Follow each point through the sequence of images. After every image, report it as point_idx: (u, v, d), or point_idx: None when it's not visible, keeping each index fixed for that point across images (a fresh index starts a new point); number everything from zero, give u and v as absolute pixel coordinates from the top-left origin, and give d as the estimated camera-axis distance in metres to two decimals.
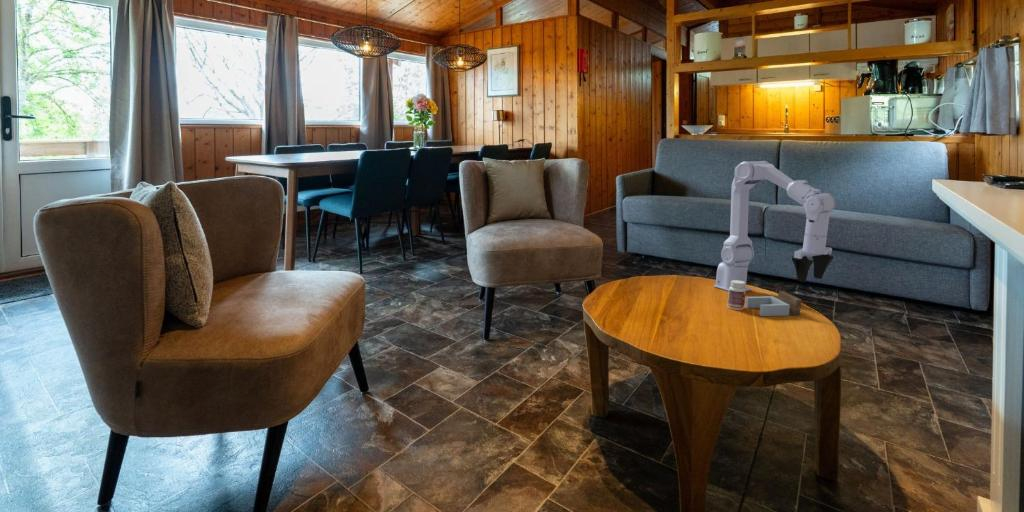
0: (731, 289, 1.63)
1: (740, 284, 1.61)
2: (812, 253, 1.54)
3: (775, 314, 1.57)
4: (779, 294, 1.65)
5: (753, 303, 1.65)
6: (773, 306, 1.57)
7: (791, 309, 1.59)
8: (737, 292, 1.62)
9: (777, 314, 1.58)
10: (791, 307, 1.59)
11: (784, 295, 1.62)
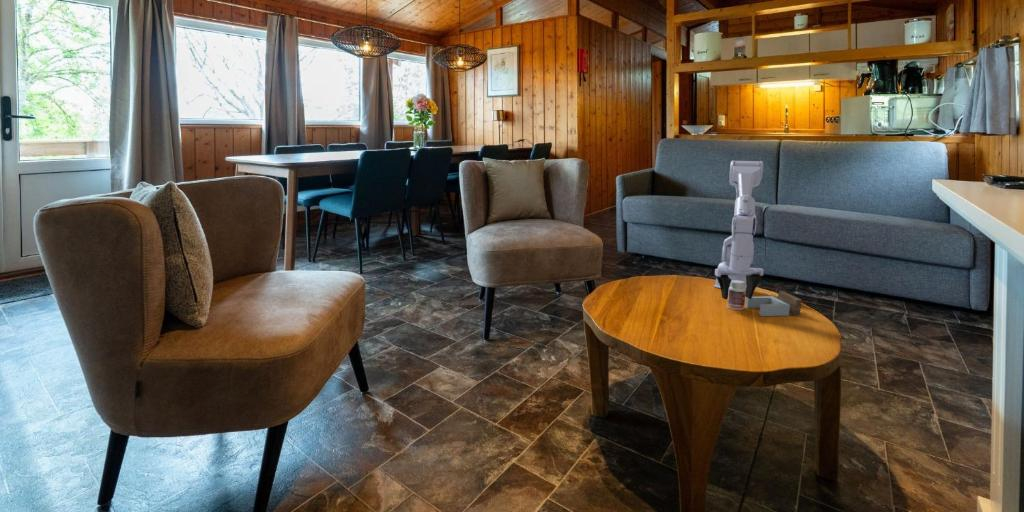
0: (731, 289, 1.63)
1: (740, 284, 1.61)
2: (731, 272, 1.60)
3: (775, 314, 1.57)
4: (779, 294, 1.65)
5: (753, 303, 1.65)
6: (773, 306, 1.57)
7: (791, 309, 1.59)
8: (737, 292, 1.62)
9: (777, 314, 1.58)
10: (791, 307, 1.59)
11: (784, 295, 1.62)
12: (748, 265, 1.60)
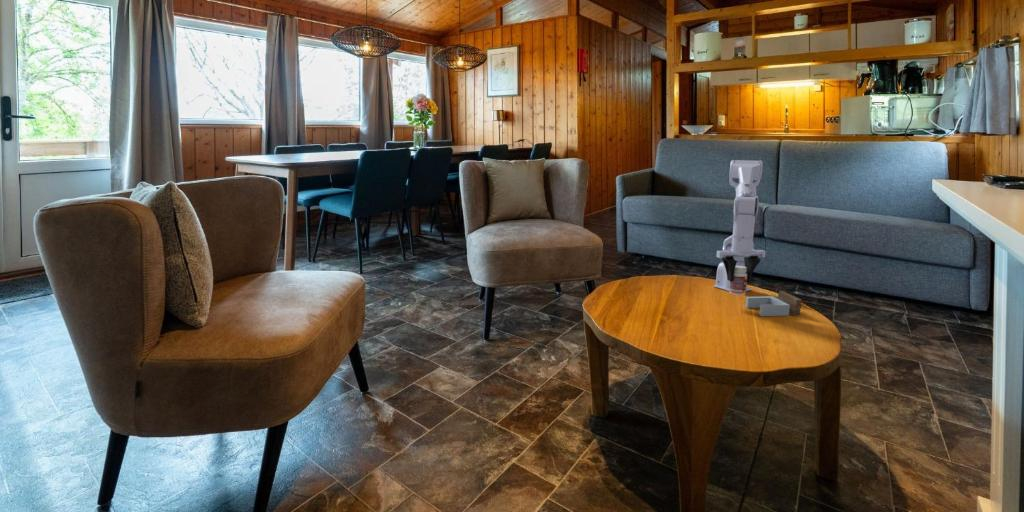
0: None
1: (741, 269, 1.61)
2: (733, 254, 1.59)
3: (775, 314, 1.57)
4: (779, 294, 1.65)
5: (753, 303, 1.65)
6: (773, 306, 1.57)
7: (791, 309, 1.59)
8: (738, 277, 1.61)
9: (777, 314, 1.58)
10: (791, 307, 1.59)
11: (784, 295, 1.62)
12: (750, 247, 1.59)
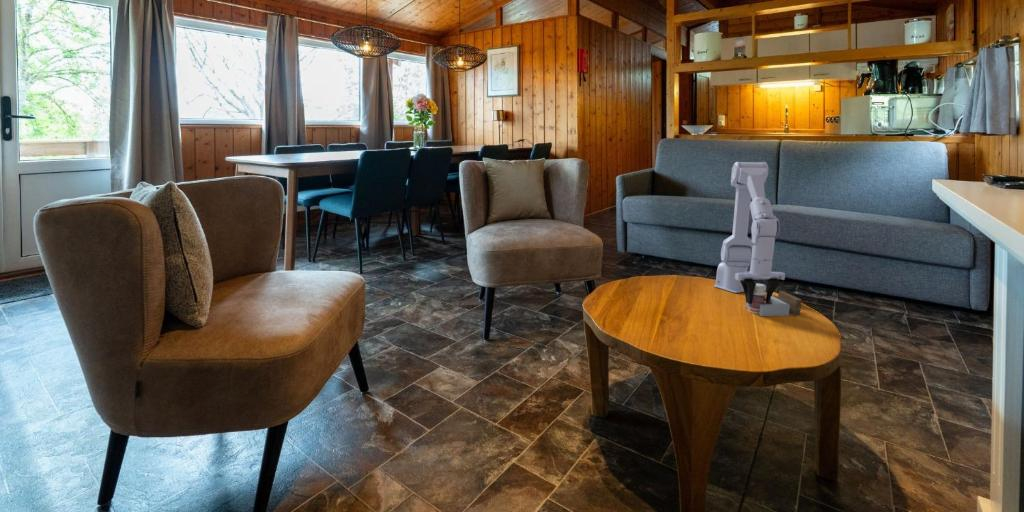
0: None
1: (761, 287, 1.58)
2: (752, 276, 1.57)
3: (775, 314, 1.57)
4: (779, 294, 1.65)
5: None
6: (773, 306, 1.57)
7: (791, 309, 1.59)
8: (758, 295, 1.58)
9: (777, 314, 1.58)
10: (791, 307, 1.59)
11: (784, 295, 1.62)
12: (769, 269, 1.56)
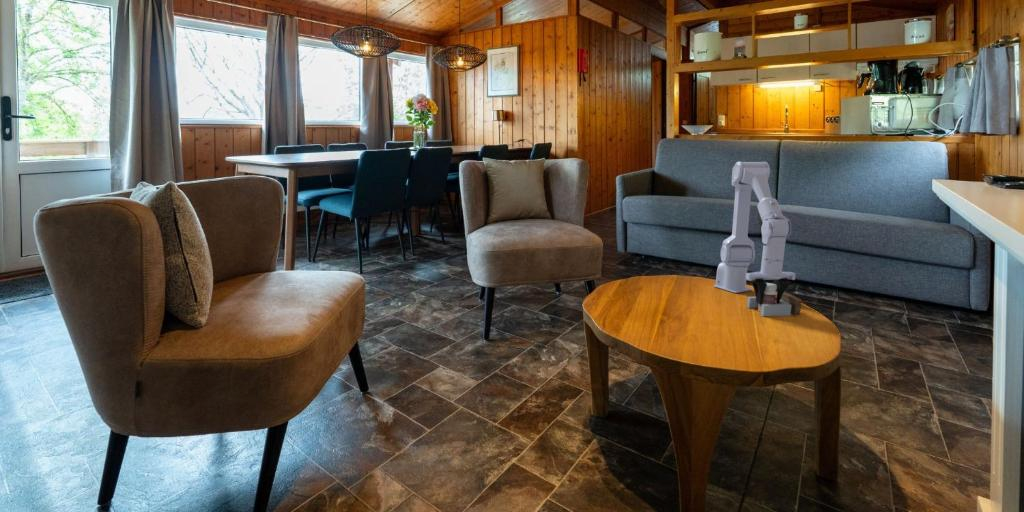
0: None
1: (772, 287, 1.58)
2: (763, 276, 1.57)
3: (777, 314, 1.58)
4: None
5: (754, 303, 1.65)
6: (775, 306, 1.57)
7: (791, 309, 1.59)
8: (768, 295, 1.59)
9: (779, 314, 1.58)
10: (791, 307, 1.59)
11: (784, 295, 1.62)
12: (780, 269, 1.57)
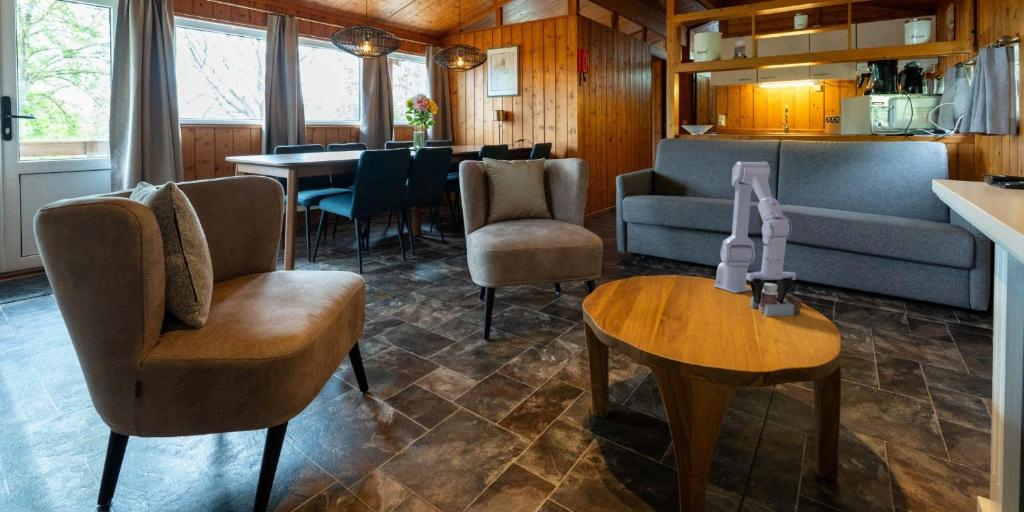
0: (763, 292, 1.60)
1: (773, 287, 1.58)
2: (764, 276, 1.57)
3: (780, 314, 1.58)
4: None
5: None
6: (778, 306, 1.57)
7: None
8: (769, 295, 1.59)
9: (782, 314, 1.58)
10: None
11: None
12: (781, 269, 1.57)
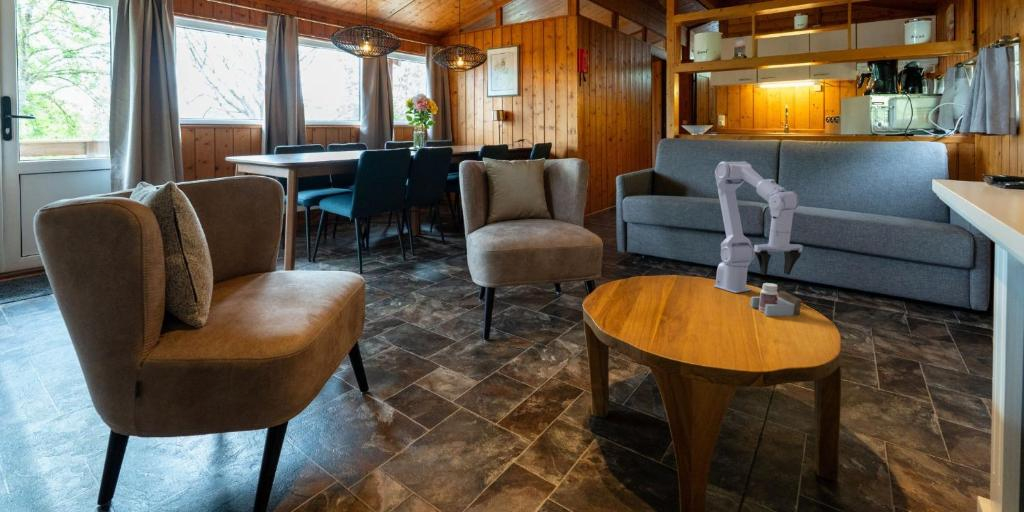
0: (763, 292, 1.60)
1: (773, 287, 1.58)
2: (771, 248, 1.63)
3: (780, 314, 1.58)
4: (779, 294, 1.65)
5: (757, 303, 1.65)
6: (778, 306, 1.57)
7: None
8: (769, 295, 1.59)
9: (782, 314, 1.58)
10: None
11: (784, 295, 1.62)
12: (788, 241, 1.62)
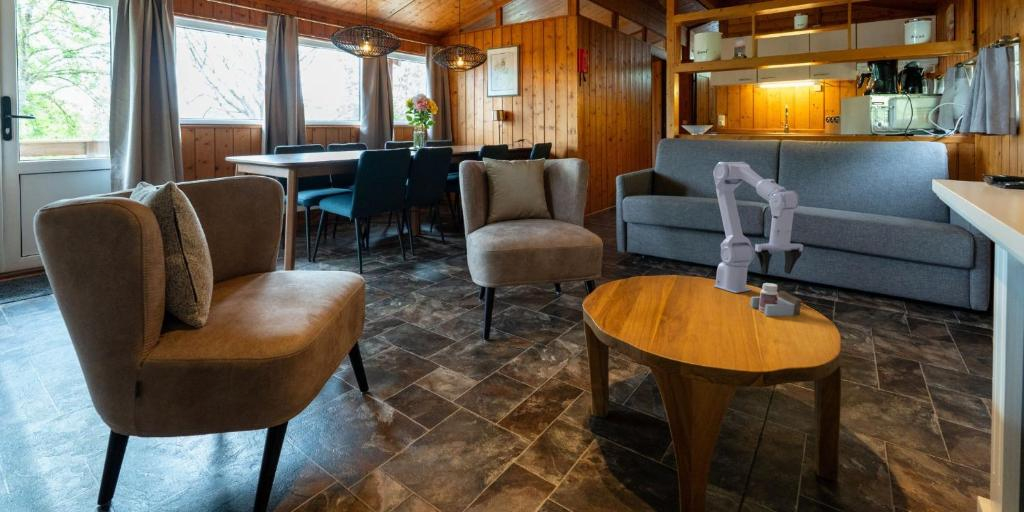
0: (763, 292, 1.60)
1: (773, 287, 1.58)
2: (772, 247, 1.63)
3: (780, 314, 1.58)
4: (779, 294, 1.65)
5: (757, 303, 1.65)
6: (778, 306, 1.57)
7: None
8: (769, 295, 1.59)
9: (782, 314, 1.58)
10: None
11: (784, 295, 1.62)
12: (788, 240, 1.63)
